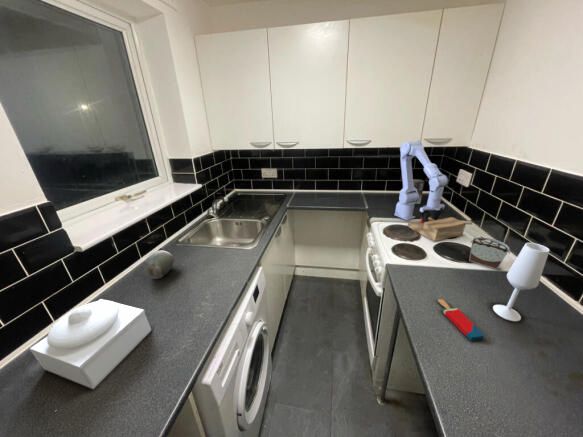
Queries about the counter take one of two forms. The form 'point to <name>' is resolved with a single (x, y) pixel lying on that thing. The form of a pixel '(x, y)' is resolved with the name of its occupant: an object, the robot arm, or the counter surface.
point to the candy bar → (428, 219)
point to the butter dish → (91, 341)
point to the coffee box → (418, 189)
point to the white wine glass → (524, 276)
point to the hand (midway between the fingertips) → (429, 222)
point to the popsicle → (461, 322)
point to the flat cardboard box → (439, 228)
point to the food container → (488, 252)
